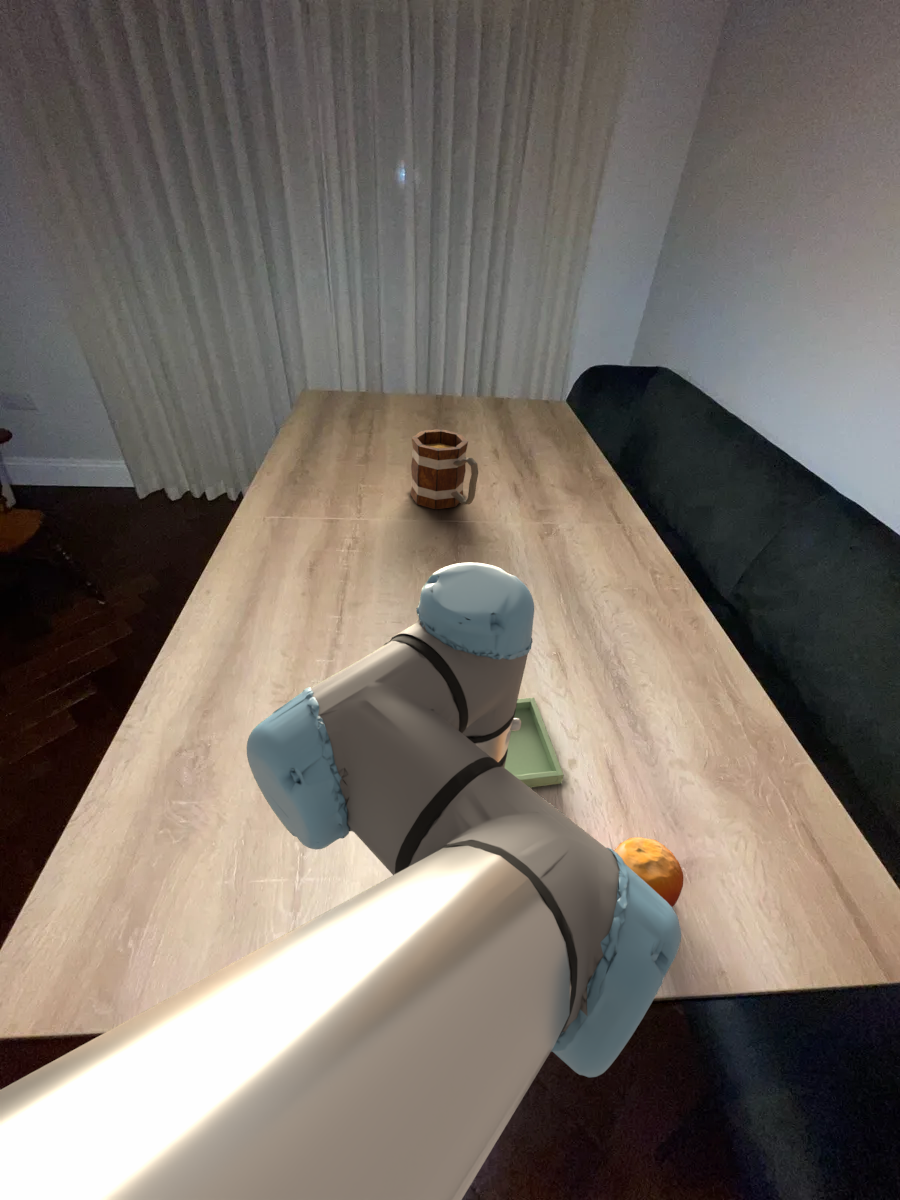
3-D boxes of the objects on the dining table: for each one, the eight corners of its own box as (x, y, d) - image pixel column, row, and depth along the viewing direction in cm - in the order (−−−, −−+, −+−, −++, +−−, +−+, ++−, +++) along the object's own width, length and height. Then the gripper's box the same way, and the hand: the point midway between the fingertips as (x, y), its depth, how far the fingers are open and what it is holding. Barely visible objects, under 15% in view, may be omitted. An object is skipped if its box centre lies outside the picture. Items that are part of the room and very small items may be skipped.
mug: (399, 493, 135) (399, 436, 125) (438, 480, 142) (441, 425, 133) (451, 525, 124) (456, 465, 114) (491, 508, 131) (498, 451, 122)
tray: (447, 798, 69) (448, 788, 68) (432, 715, 79) (433, 706, 78) (560, 784, 71) (563, 775, 70) (532, 706, 82) (534, 697, 81)
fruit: (645, 952, 55) (638, 884, 53) (597, 904, 62) (589, 843, 61) (703, 919, 58) (697, 854, 56) (650, 877, 65) (644, 818, 64)
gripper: (493, 882, 34) (466, 994, 48) (518, 655, 51) (493, 788, 65) (380, 858, 35) (386, 975, 49) (442, 643, 51) (433, 776, 65)
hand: (447, 868), depth 57 cm, fingers closed on lid, 8 cm apart
